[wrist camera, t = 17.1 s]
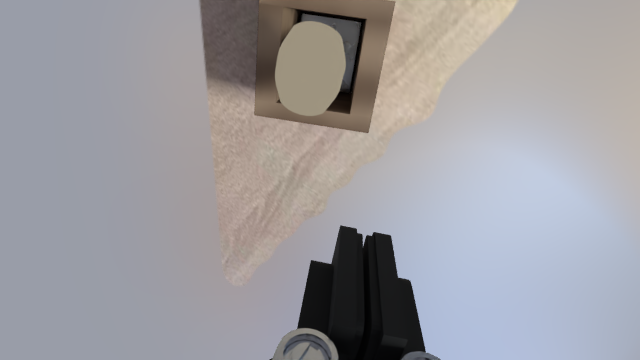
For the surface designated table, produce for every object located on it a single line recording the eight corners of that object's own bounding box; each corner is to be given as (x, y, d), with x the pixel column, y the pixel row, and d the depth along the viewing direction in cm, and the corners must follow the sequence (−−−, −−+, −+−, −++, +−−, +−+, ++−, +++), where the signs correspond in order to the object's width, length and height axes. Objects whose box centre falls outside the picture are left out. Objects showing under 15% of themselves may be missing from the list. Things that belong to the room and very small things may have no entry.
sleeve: (284, -8, 35) (259, -18, 26) (385, 6, 35) (395, 1, 26) (277, 94, 40) (254, 115, 31) (365, 108, 40) (368, 133, 31)
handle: (300, 76, 38) (269, 106, 24) (311, 16, 35) (284, 13, 22) (340, 87, 38) (331, 122, 24) (355, 27, 35) (354, 31, 22)
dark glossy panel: (303, 13, 36) (302, 13, 35) (361, 22, 36) (361, 22, 35) (297, 82, 39) (295, 83, 38) (349, 90, 39) (349, 91, 38)
